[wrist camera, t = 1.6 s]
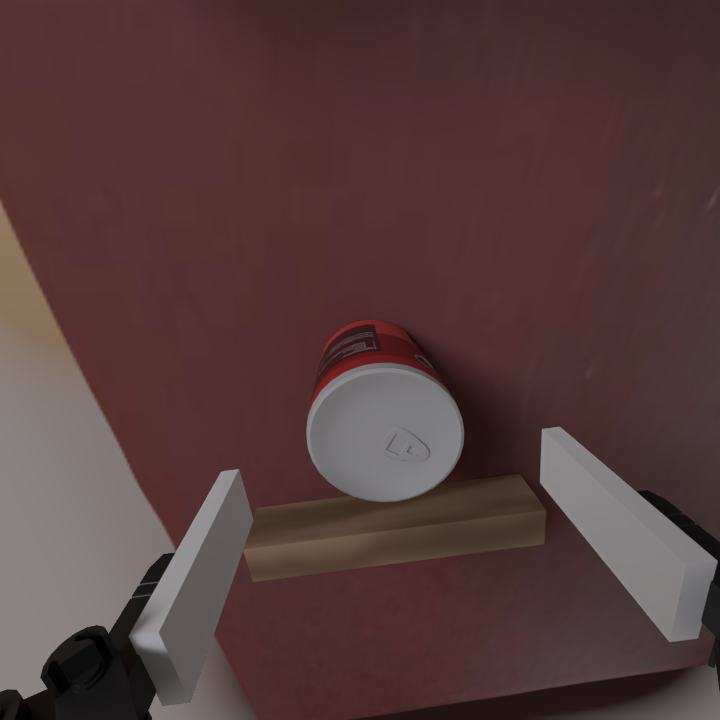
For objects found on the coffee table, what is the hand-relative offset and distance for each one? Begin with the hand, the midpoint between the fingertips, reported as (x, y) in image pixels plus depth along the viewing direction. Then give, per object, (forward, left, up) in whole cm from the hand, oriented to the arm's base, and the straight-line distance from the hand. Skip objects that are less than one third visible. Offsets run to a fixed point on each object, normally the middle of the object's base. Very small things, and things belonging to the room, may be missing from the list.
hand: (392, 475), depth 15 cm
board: (+14, 0, -13) cm, 19 cm away
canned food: (0, 0, -13) cm, 13 cm away
